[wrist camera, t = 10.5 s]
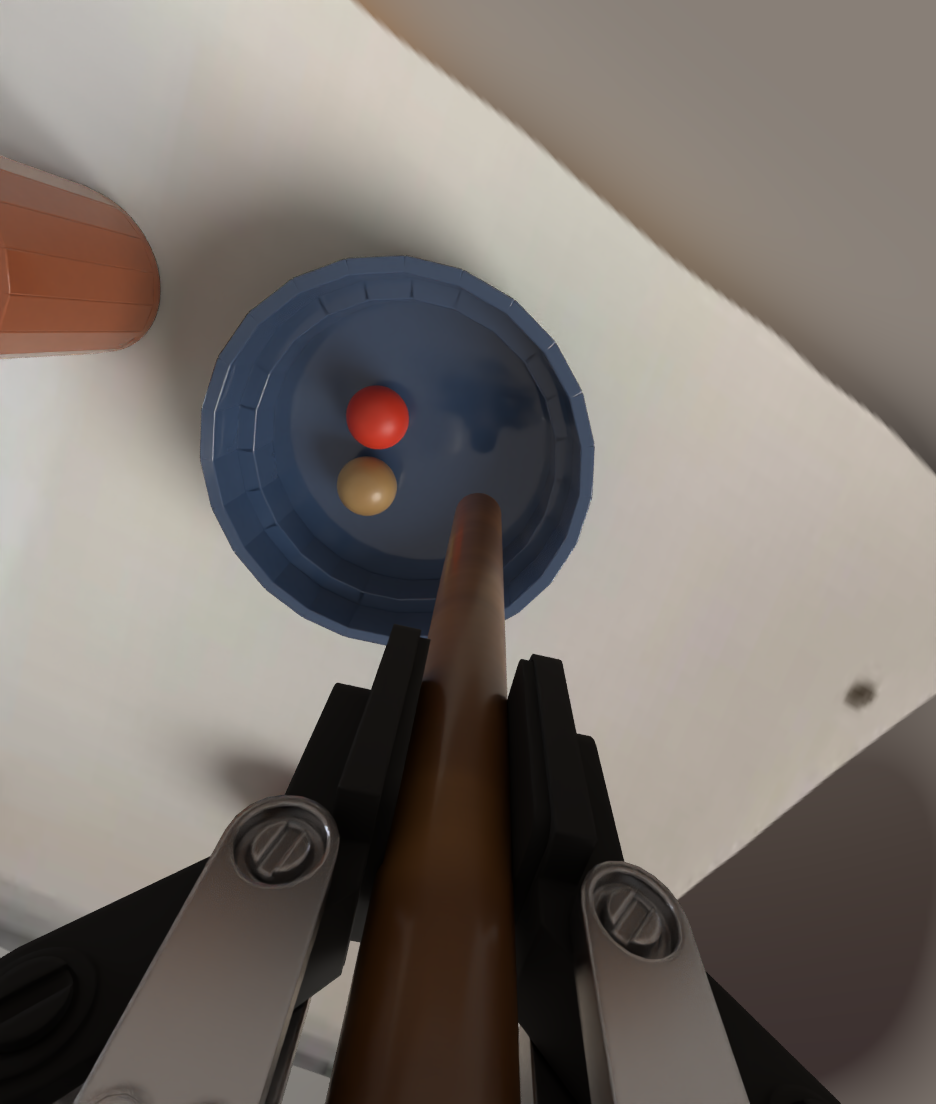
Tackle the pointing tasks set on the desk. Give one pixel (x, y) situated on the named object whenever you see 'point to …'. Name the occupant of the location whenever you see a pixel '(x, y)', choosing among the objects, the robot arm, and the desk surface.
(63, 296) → the holder
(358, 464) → the beech bead
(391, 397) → the red bead
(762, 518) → the desk surface
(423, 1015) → the stick
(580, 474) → the bowl
